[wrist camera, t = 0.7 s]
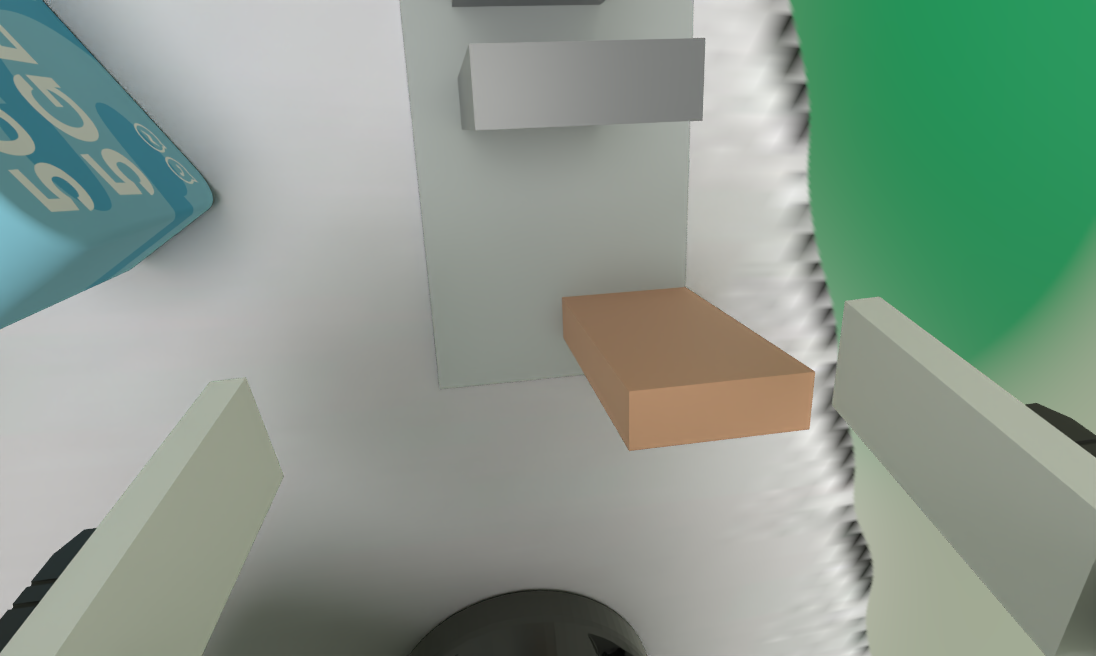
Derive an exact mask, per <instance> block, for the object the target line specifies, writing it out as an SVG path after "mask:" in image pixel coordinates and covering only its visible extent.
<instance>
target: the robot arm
mask: <svg viewBox="0 0 1096 656" xmlns="http://www.w3.org/2000/svg"><path fill="white" fill-rule="evenodd" d="M832 406H833V407H834V408H835V409H836V410H837V412H838V413H839V414H840V415H841V416H842V418H843V419H844V420H845V421H846V422H847V423H848V425H849V426H850V427H851V428H852V429H853V430H854V432H855V433H856V434H857V435H858V436H859V437H860V439H861V440H862V441H863V442H864V443H865V445H866V446H867V447H868V448H869V449H870V450H871V452H872V453H873V454H874V455H875V456H876V457H877V459H878V460H879V461H880V462H881V463H882V464H883V466H884V467H885V468H886V469H887V470H888V471H889V473H890V474H891V475H892V476H893V477H894V478H895V480H896V481H897V482H898V483H899V484H900V486H901V487H902V488H903V489H904V490H905V491H906V493H907V494H908V495H909V496H910V497H911V498H912V499H913V501H914V502H915V503H916V504H917V506H918V507H919V508H920V509H921V510H922V511H923V513H924V514H925V515H926V516H927V517H928V518H929V520H930V521H931V522H932V523H933V524H934V525H935V527H936V528H937V529H938V530H939V531H940V532H941V533H942V535H943V536H944V537H945V538H946V540H947V541H948V542H949V543H950V544H951V545H952V546H953V548H954V549H955V550H956V551H957V552H958V553H959V555H960V556H961V557H962V558H963V559H964V560H965V562H966V563H967V564H968V565H969V566H970V568H971V569H972V570H973V571H974V572H975V573H976V575H977V576H978V577H979V578H980V579H981V580H982V582H983V583H984V584H985V585H986V586H987V588H988V589H989V590H990V591H991V592H992V594H993V595H994V596H995V597H996V598H997V599H998V601H999V602H1000V603H1001V604H1002V605H1003V606H1004V608H1005V609H1006V610H1007V611H1008V612H1009V613H1010V614H1011V616H1012V617H1013V618H1014V619H1015V620H1016V622H1017V623H1018V624H1019V625H1020V626H1021V627H1022V629H1023V630H1024V631H1025V632H1026V633H1027V635H1028V636H1029V637H1030V638H1031V639H1032V640H1033V641H1034V643H1035V644H1036V645H1037V646H1038V647H1039V649H1040V650H1041V651H1042V652H1043V653H1044V655H1045V656H1096V435H1094V434H1093V433H1092V432H1090V431H1089V430H1087V429H1086V428H1084V427H1083V426H1082V425H1080V424H1079V423H1078V422H1076V421H1075V420H1073V419H1072V418H1070V417H1067V416H1065V415H1063V414H1060V413H1058V412H1056V411H1053V410H1051V409H1049V408H1047V407H1044V406H1042V405H1040V404H1037V403H1033V404H1026V405H1024V404H1023V403H1021V402H1020V401H1019V400H1017V399H1016V398H1015V397H1013V396H1012V395H1011V394H1009V393H1008V392H1006V391H1005V390H1004V389H1002V388H1001V387H1000V386H999V385H997V384H996V383H995V382H993V381H992V380H991V379H989V378H988V377H987V376H985V375H984V374H983V373H981V372H980V371H979V370H977V369H976V368H975V367H973V366H972V365H970V364H969V363H968V362H966V361H965V360H964V359H962V358H961V357H960V356H958V355H957V354H956V353H954V352H953V351H952V350H950V349H949V348H948V347H946V346H945V345H944V344H942V343H941V342H940V341H938V340H937V339H936V338H934V337H933V336H931V335H930V334H929V333H927V332H926V331H925V330H923V329H922V328H921V327H919V326H918V325H917V324H915V323H914V322H913V321H911V320H910V319H909V318H907V317H906V316H905V315H903V314H902V313H901V312H899V311H898V310H897V309H895V308H894V307H893V306H891V305H890V304H888V303H887V302H886V301H885V300H883V299H882V298H880V297H873V298H865V299H857V300H849V301H845V306H844V313H843V322H842V329H841V337H840V345H839V353H838V361H837V368H836V376H835V384H834V392H833V400H832ZM283 477H284V475H283V473H282V470H281V468H280V465H279V462H278V460H277V457H276V455H275V452H274V449H273V447H272V444H271V442H270V439H269V436H268V434H267V431H266V429H265V426H264V423H263V421H262V418H261V416H260V413H259V410H258V408H257V405H256V403H255V400H254V397H253V395H252V392H251V390H250V387H249V384H248V382H247V379H246V377H244V378H236V379H228V380H220V381H213V382H210V383H209V384H208V385H207V386H206V388H205V389H204V390H203V392H202V393H201V394H200V396H199V397H198V398H197V399H196V401H195V402H194V403H193V405H192V406H191V407H190V408H189V410H188V411H187V412H186V414H185V415H184V416H183V417H182V419H181V420H180V421H179V423H178V424H177V425H176V427H175V428H174V429H173V430H172V432H171V433H170V434H169V436H168V437H167V438H166V439H165V441H164V442H163V443H162V445H161V446H160V447H159V448H158V450H157V451H156V452H155V454H154V455H153V456H152V458H151V459H150V460H149V461H148V463H147V464H146V465H145V467H144V468H143V469H142V470H141V472H140V473H139V474H138V476H137V477H136V478H135V480H134V481H133V482H132V483H131V485H130V486H129V487H128V489H127V490H126V491H125V492H124V494H123V495H122V496H121V498H120V499H119V500H118V501H117V503H116V504H115V505H114V507H113V508H112V509H111V511H110V512H109V513H108V514H107V516H106V517H105V518H104V520H103V521H102V522H101V523H100V525H99V526H98V527H97V528H93V529H86V530H83V531H82V532H81V533H79V534H78V535H77V536H76V537H74V538H73V539H72V540H71V541H69V542H68V543H67V544H66V545H64V546H63V547H62V548H61V549H59V550H58V551H57V552H56V553H54V554H53V555H52V557H51V558H50V559H49V560H48V562H47V563H46V564H45V565H44V566H43V568H42V569H41V570H40V571H39V573H38V574H37V575H36V576H35V577H34V579H33V580H32V581H31V583H32V584H31V586H30V587H26V588H25V590H24V591H23V592H22V593H21V595H20V596H19V597H18V598H17V599H16V601H15V602H14V603H13V608H12V610H8V611H7V612H6V613H5V614H4V615H3V617H2V618H1V619H0V656H202V654H203V652H204V650H205V648H206V645H207V643H208V641H209V639H210V637H211V635H212V632H213V630H214V628H215V626H216V624H217V621H218V619H219V617H220V615H221V613H222V610H223V608H224V606H225V604H226V602H227V600H228V597H229V595H230V593H231V591H232V589H233V586H234V584H235V582H236V580H237V578H238V576H239V573H240V571H241V569H242V567H243V565H244V562H245V560H246V558H247V556H248V554H249V552H250V549H251V547H252V545H253V543H254V541H255V538H256V536H257V534H258V532H259V530H260V527H261V525H262V523H263V521H264V519H265V517H266V514H267V512H268V510H269V508H270V506H271V503H272V501H273V499H274V497H275V495H276V493H277V490H278V488H279V486H280V484H281V482H282V479H283ZM409 656H647V654H646V652H645V649H644V647H643V645H642V642H641V641H640V639H639V637H638V635H637V634H636V633H635V631H634V630H633V629H632V627H631V626H630V625H629V624H628V623H627V622H626V621H625V620H624V619H623V618H622V617H621V616H619V615H618V614H617V613H615V612H614V611H612V610H611V609H609V608H608V607H606V606H604V605H602V604H600V603H598V602H596V601H593V600H591V599H588V598H585V597H582V596H578V595H574V594H569V593H563V592H554V591H528V592H519V593H513V594H507V595H503V596H499V597H495V598H492V599H489V600H486V601H483V602H480V603H478V604H475V605H473V606H471V607H468V608H466V609H464V610H462V611H461V612H459V613H457V614H455V615H453V616H452V617H450V618H449V619H447V620H446V621H444V622H443V623H441V624H440V625H439V626H437V627H436V628H435V629H434V630H432V631H431V632H430V633H429V634H428V635H427V636H426V637H425V638H424V639H423V640H422V641H421V642H420V643H419V644H418V645H417V646H416V648H415V649H414V650H413V651H412V652H411V654H410V655H409Z"/></svg>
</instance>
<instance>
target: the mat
mask: <svg viewBox="0 0 1096 656" xmlns="http://www.w3.org/2000/svg"><path fill="white" fill-rule="evenodd" d="M399 1H400V10H401V20H402V30H403V39H404V49H405V59H406V68H407V78H408V88H409V98H410V107H411V117H412V127H413V136H414V146H415V156H416V166H417V175H418V185H419V195H420V204H421V214H422V224H423V234H424V243H425V253H426V263H427V272H428V282H429V292H430V301H431V311H432V321H433V331H434V340H435V350H436V360H437V369H438V379H439V389H449V388H459V387H469V386H479V385H488V384H498V383H508V382H518V381H528V380H538V379H548V378H558V377H568V376H578V375H585V374H584V373H583V371H582V369H581V367H580V366H579V364H578V362H577V360H576V359H575V357H574V355H573V354H572V352H571V350H570V348H569V347H568V345H567V343H566V342H565V340H564V338H563V314H562V297H570V296H582V295H595V294H607V293H619V292H631V291H643V290H655V289H667V288H679V287H685V278H686V245H687V211H688V177H689V143H690V121H681V122H658V123H635V124H612V125H589V126H566V127H543V128H520V129H496V130H464V129H462V127H461V114H460V102H459V89H458V75H459V72H460V69H461V66H462V63H463V60H464V57H465V54H466V51H467V48H468V45H469V44H471V43H513V42H555V41H598V40H640V39H683V38H693V8H694V0H606V1H604V2H603V3H602V4H601V5H550V6H485V7H452V1H451V0H399Z"/></svg>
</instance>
